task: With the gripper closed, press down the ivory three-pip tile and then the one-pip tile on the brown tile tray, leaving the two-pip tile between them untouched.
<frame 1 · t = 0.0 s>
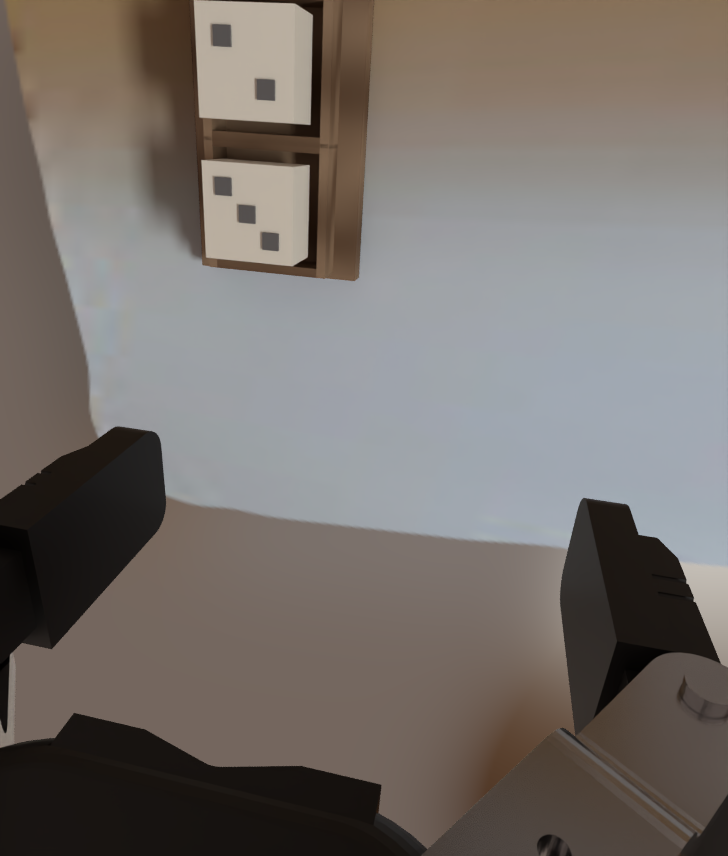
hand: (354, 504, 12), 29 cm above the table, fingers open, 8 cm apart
tile three: (257, 211, 35), point 5 cm above the table, slide at 0.0 cm
tile two: (255, 66, 32), point 5 cm above the table, slide at 0.0 cm
brown tile tray: (283, 74, 36), on the table
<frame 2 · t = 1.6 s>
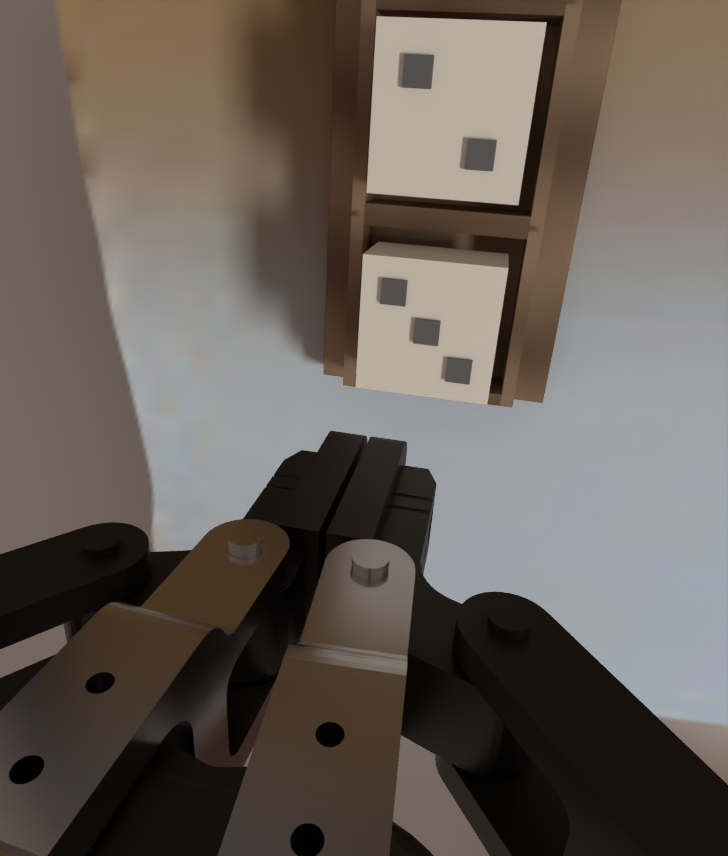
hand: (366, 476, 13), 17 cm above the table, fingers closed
tile three: (431, 321, 24), point 5 cm above the table, slide at 0.0 cm
tile two: (453, 115, 21), point 5 cm above the table, slide at 0.0 cm
brown tile tray: (462, 119, 25), on the table
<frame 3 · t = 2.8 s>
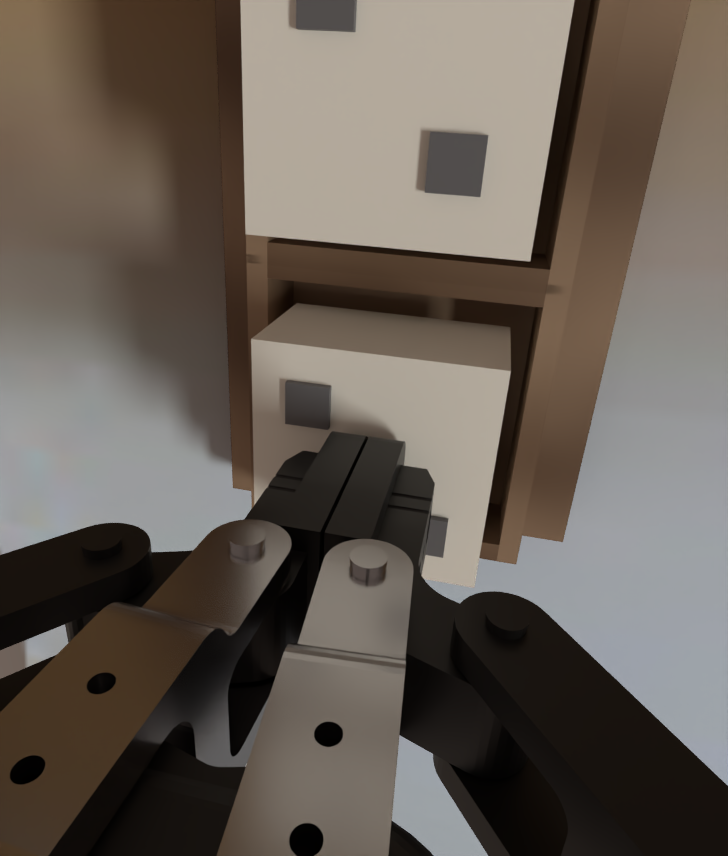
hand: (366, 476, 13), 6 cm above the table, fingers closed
tile three: (380, 440, 14), point 4 cm above the table, slide at -0.2 cm, touching gripper
tile two: (407, 89, 11), point 5 cm above the table, slide at 0.0 cm
brown tile tray: (434, 102, 15), on the table
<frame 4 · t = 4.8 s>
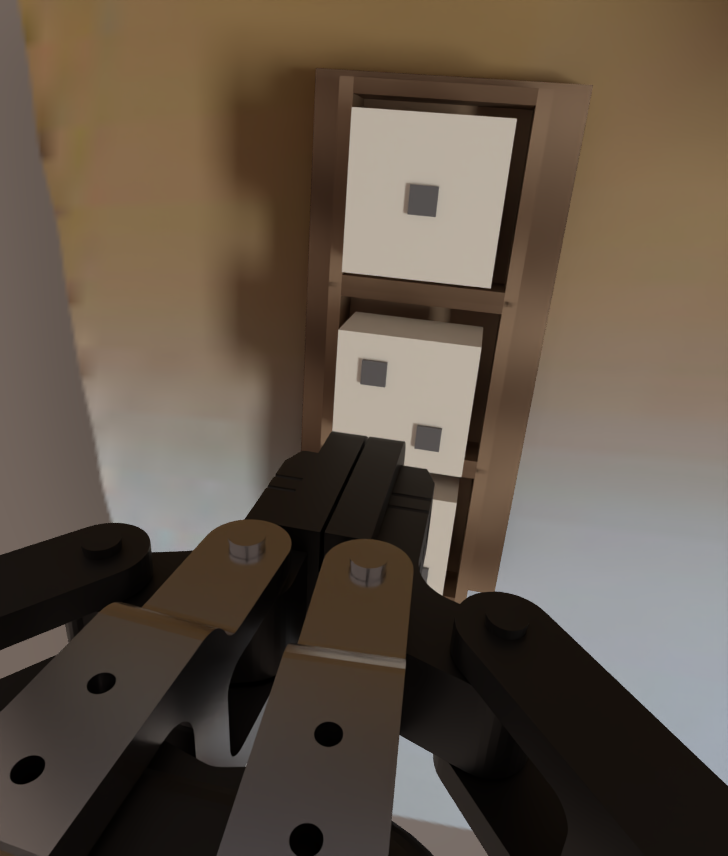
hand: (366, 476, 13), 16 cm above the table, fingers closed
tile three: (395, 526, 28), point 3 cm above the table, slide at -1.6 cm
tile one: (427, 198, 21), point 5 cm above the table, slide at 0.0 cm
tile two: (406, 392, 24), point 5 cm above the table, slide at 0.0 cm
brown tile tray: (420, 359, 28), on the table
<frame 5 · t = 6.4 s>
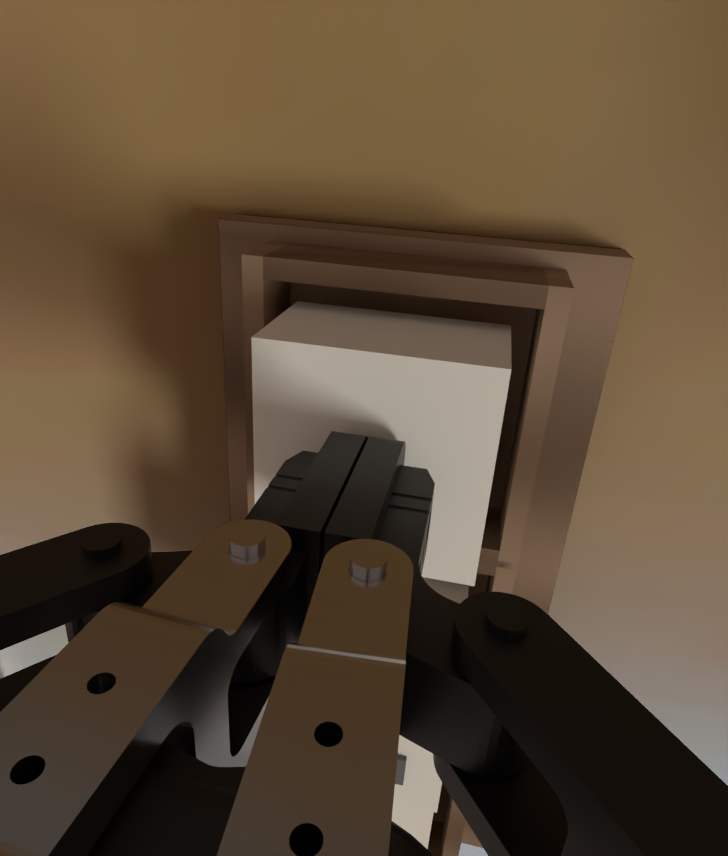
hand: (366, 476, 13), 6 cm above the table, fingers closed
tile three: (357, 794, 21), point 3 cm above the table, slide at -1.6 cm
tile one: (381, 438, 14), point 4 cm above the table, slide at -0.5 cm, touching gripper
tile two: (359, 680, 17), point 5 cm above the table, slide at 0.0 cm
brown tile tray: (388, 574, 21), on the table
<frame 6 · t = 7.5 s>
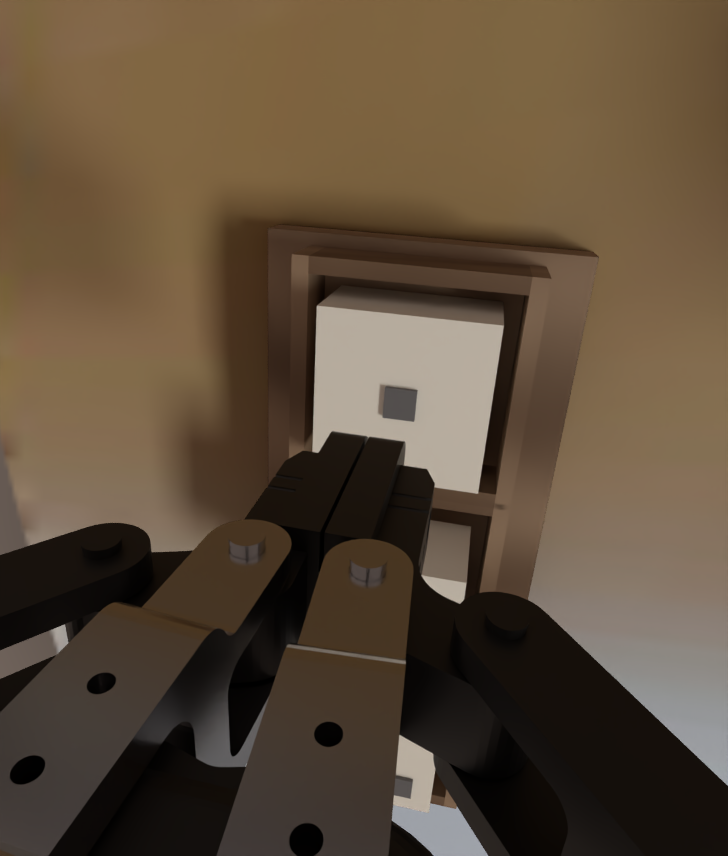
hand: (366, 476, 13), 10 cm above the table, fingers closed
tile three: (375, 721, 25), point 3 cm above the table, slide at -1.6 cm
tile one: (407, 386, 19), point 3 cm above the table, slide at -1.6 cm
tile two: (381, 605, 20), point 5 cm above the table, slide at 0.0 cm
brown tile tray: (401, 529, 24), on the table
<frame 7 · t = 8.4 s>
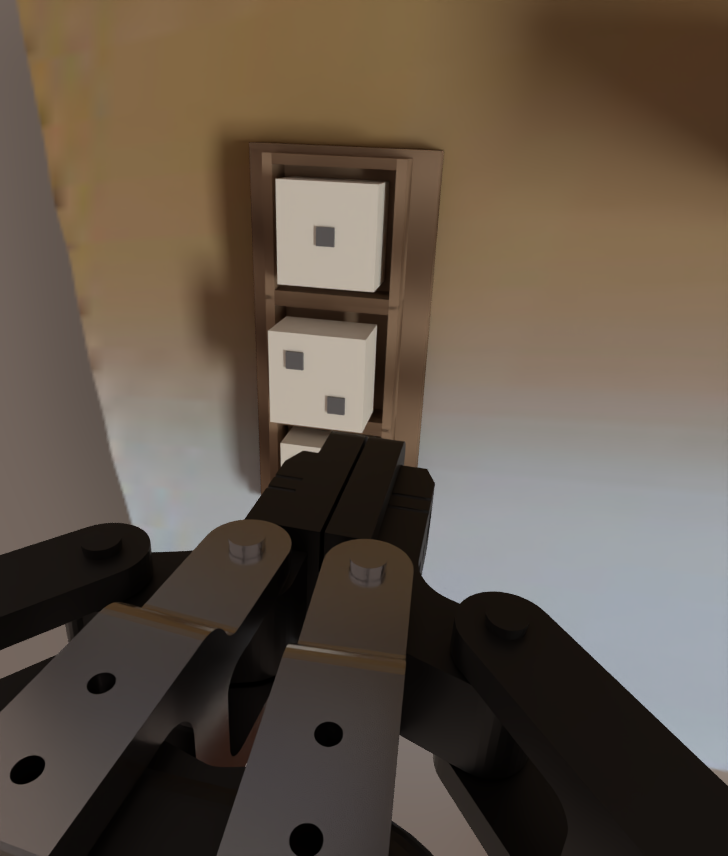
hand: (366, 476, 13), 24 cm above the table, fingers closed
tile three: (328, 475, 38), point 3 cm above the table, slide at -1.6 cm
tile one: (332, 233, 32), point 3 cm above the table, slide at -1.6 cm
tile two: (323, 373, 33), point 5 cm above the table, slide at 0.0 cm
brown tile tray: (343, 348, 37), on the table
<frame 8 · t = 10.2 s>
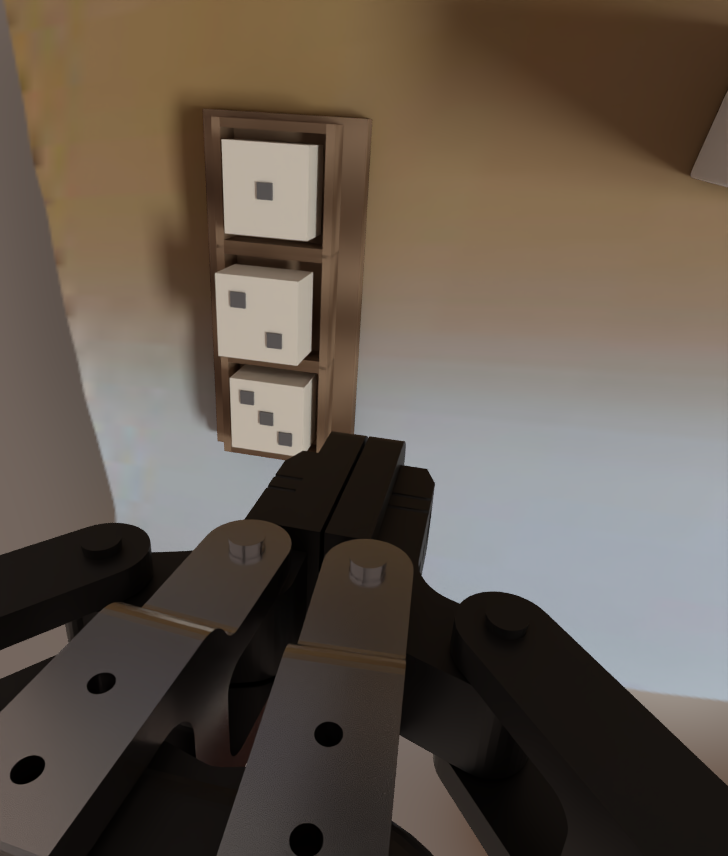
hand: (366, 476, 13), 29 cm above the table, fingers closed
tile three: (274, 409, 42), point 3 cm above the table, slide at -1.6 cm
tile one: (273, 189, 36), point 3 cm above the table, slide at -1.6 cm
tile two: (265, 314, 38), point 5 cm above the table, slide at 0.0 cm
brown tile tray: (288, 297, 42), on the table
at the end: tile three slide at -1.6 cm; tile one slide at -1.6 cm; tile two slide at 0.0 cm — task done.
